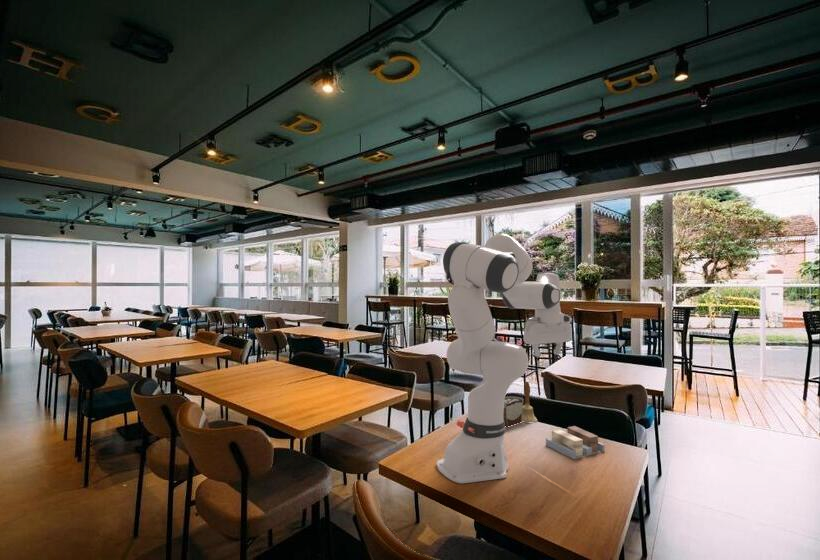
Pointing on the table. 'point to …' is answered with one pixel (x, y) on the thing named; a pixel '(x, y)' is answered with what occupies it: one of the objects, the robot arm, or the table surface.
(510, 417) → the food container
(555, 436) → the maple bar
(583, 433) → the walnut bar
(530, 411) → the hand bell
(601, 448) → the slot rack
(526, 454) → the table surface
